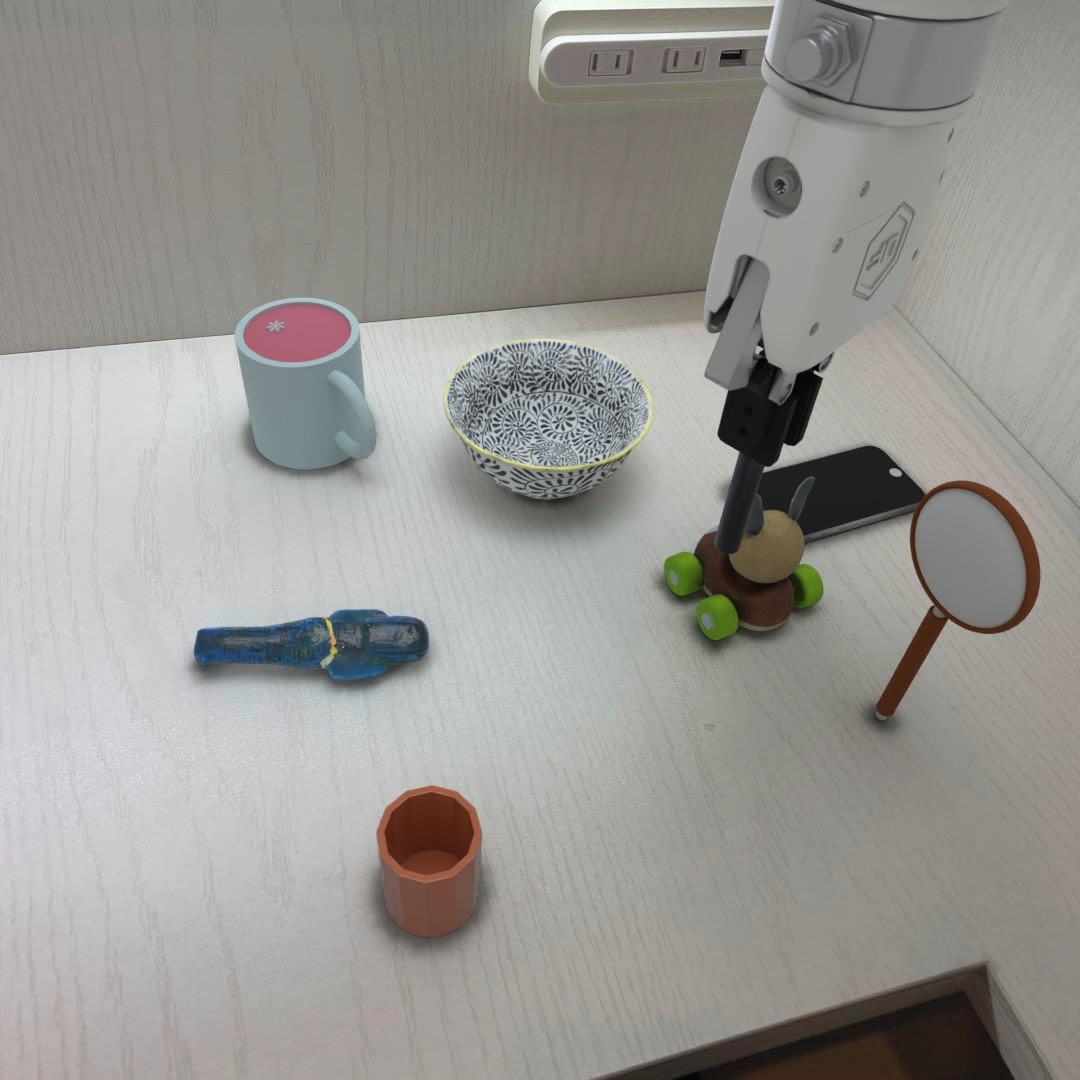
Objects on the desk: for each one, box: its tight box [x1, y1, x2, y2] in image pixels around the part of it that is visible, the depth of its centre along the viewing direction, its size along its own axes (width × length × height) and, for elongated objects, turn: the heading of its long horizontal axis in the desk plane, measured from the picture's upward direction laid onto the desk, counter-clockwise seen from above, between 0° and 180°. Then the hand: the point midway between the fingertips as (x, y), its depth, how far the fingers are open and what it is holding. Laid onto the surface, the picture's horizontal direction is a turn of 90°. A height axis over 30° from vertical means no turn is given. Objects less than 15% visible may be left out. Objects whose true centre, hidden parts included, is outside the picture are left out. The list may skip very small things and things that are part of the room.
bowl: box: [442, 338, 654, 500], centre depth 76 cm, size 16×16×8 cm
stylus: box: [714, 356, 767, 554], centre depth 48 cm, size 1×1×13 cm
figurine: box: [193, 608, 430, 681], centre depth 64 cm, size 5×4×15 cm
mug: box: [234, 297, 377, 471], centre depth 76 cm, size 14×9×10 cm
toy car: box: [663, 477, 825, 641], centre depth 67 cm, size 9×9×11 cm
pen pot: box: [375, 784, 483, 938], centre depth 52 cm, size 5×5×7 cm
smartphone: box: [757, 445, 927, 543], centre depth 79 cm, size 8×1×15 cm
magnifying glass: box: [875, 479, 1042, 721], centre depth 57 cm, size 9×2×20 cm, turn 23°
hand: (759, 439), depth 47 cm, fingers closed on stylus, 1 cm apart
